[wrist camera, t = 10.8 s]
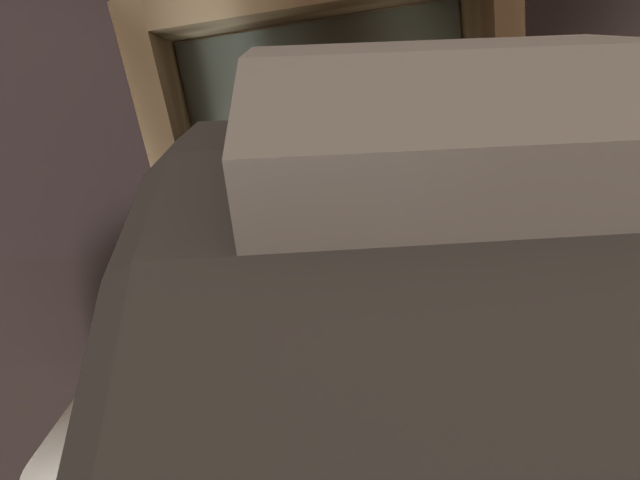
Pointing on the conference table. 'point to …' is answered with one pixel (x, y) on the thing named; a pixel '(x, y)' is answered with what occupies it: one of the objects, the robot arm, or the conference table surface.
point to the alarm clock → (381, 274)
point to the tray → (265, 44)
